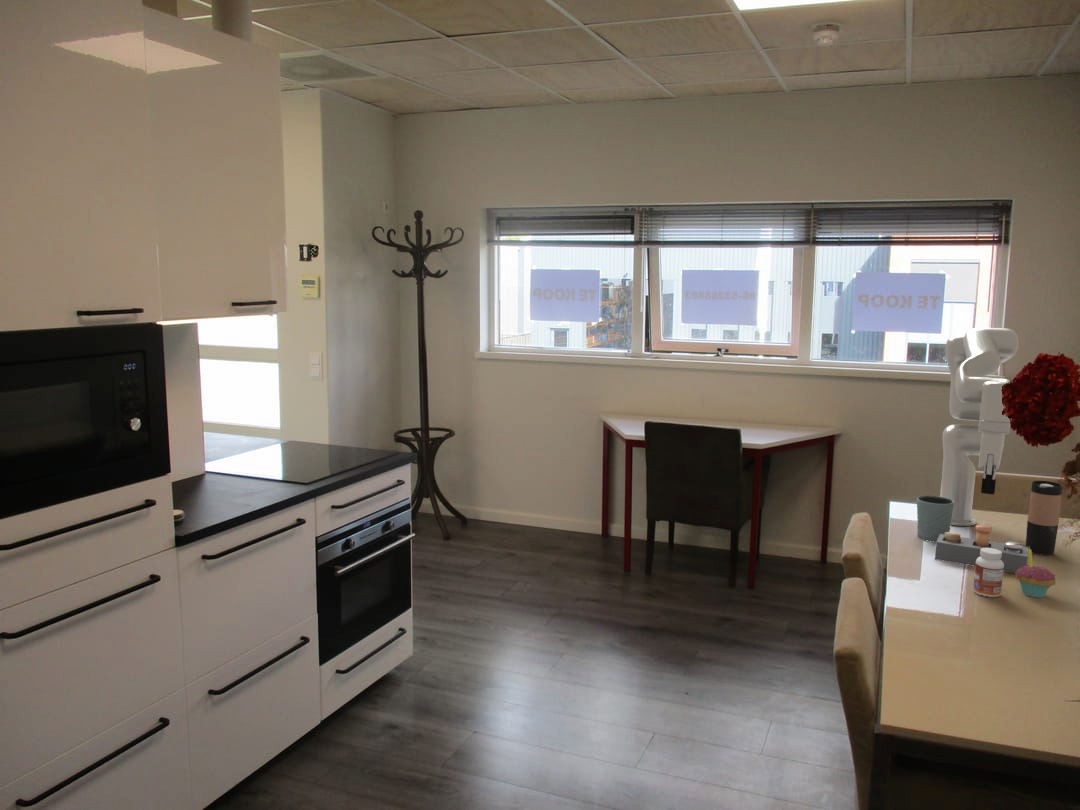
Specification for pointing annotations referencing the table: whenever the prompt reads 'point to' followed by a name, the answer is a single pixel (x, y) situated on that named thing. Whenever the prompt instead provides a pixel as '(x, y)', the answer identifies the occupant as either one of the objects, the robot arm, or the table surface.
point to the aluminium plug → (1013, 546)
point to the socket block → (977, 553)
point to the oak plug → (952, 537)
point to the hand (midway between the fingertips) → (987, 493)
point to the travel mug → (1043, 517)
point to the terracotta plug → (983, 535)
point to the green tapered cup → (933, 516)
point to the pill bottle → (988, 573)
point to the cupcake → (1034, 579)
